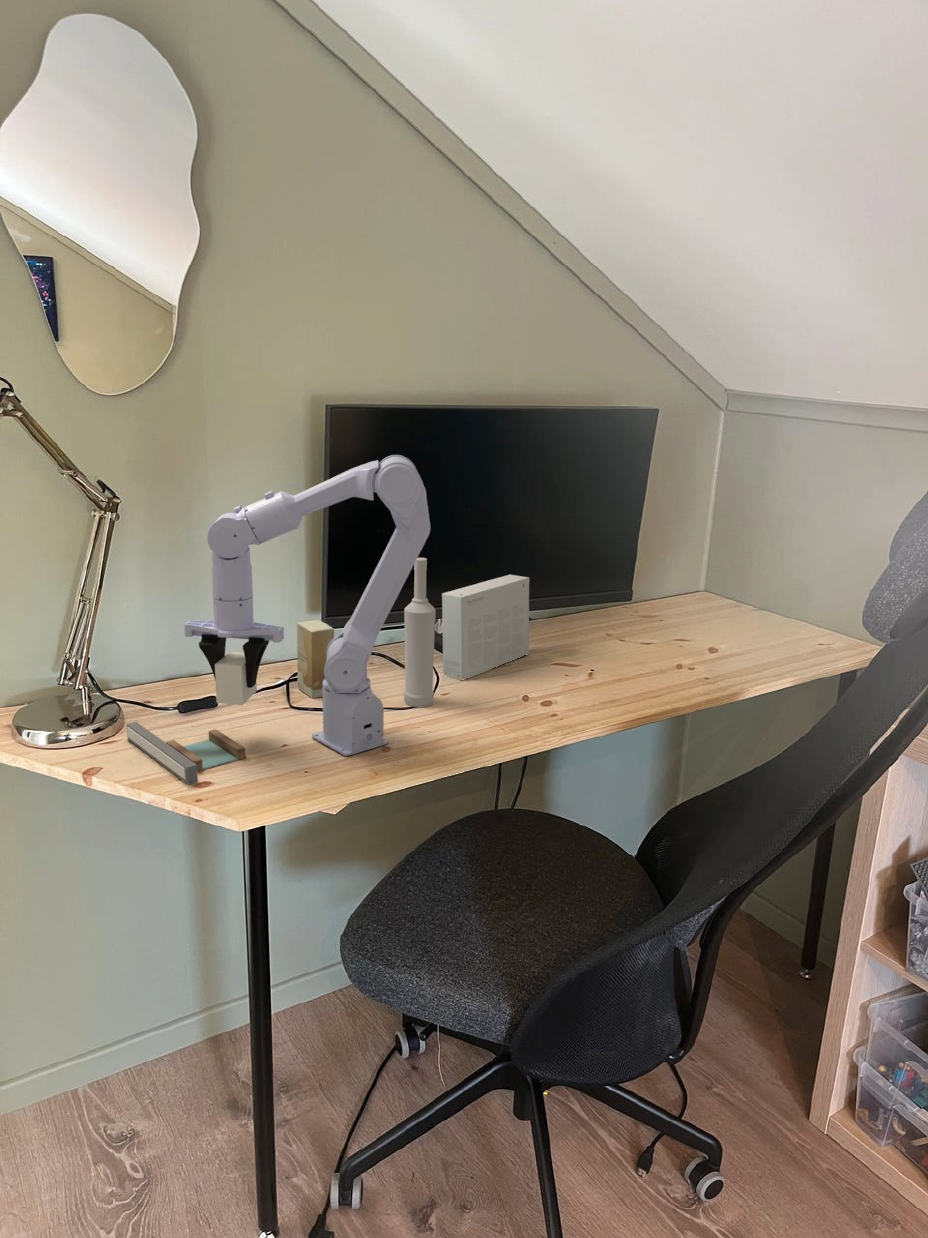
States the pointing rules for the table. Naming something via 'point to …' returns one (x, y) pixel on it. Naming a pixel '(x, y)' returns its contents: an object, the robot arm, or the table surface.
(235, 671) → the carton
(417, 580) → the bottle
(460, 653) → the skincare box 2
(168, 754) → the rail
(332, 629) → the skincare box
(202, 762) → the facing slot
